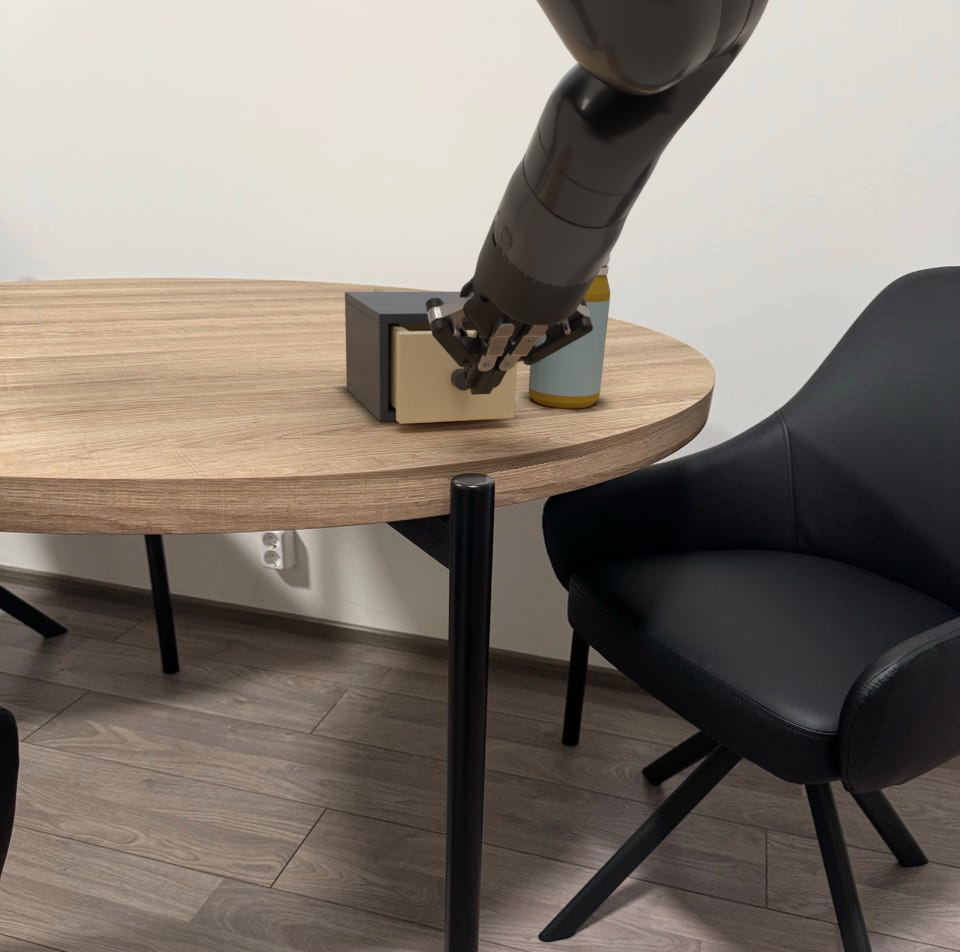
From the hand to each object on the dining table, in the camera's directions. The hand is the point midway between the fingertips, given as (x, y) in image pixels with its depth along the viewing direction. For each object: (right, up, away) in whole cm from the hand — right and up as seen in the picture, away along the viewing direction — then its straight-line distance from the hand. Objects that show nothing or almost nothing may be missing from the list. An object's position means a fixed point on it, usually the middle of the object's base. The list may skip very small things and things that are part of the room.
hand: (477, 384), depth 75 cm
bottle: (+8, +3, +18) cm, 20 cm away
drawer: (-4, +1, +10) cm, 10 cm away
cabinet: (-5, +2, +15) cm, 16 cm away
